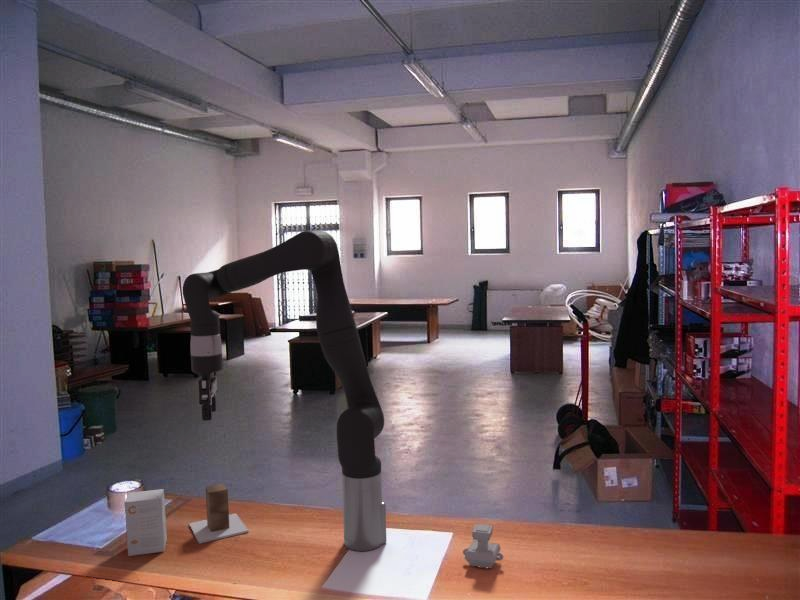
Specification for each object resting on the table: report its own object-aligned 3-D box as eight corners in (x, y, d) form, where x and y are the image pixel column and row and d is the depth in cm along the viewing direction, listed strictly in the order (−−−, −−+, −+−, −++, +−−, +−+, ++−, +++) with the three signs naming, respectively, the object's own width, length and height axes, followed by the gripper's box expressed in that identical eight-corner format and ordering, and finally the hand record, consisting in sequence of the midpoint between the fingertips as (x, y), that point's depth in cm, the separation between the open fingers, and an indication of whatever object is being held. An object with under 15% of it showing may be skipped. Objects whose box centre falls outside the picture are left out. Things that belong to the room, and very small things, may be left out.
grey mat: (235, 515, 173) (235, 513, 173) (248, 532, 163) (248, 530, 163) (189, 525, 167) (188, 523, 167) (199, 543, 157) (199, 541, 157)
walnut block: (225, 521, 168) (223, 483, 167) (229, 528, 164) (227, 489, 163) (207, 525, 166) (205, 486, 165) (211, 532, 162) (209, 492, 161)
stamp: (505, 560, 146) (505, 523, 145) (500, 574, 140) (500, 536, 139) (466, 554, 149) (465, 518, 148) (459, 568, 142) (458, 531, 142)
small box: (167, 540, 159) (164, 488, 158) (164, 552, 153) (161, 498, 152) (131, 544, 157) (128, 492, 156) (127, 557, 151) (124, 502, 150)
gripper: (218, 356, 158) (221, 422, 160) (225, 347, 172) (227, 407, 174) (186, 357, 157) (189, 424, 159) (195, 348, 171) (198, 409, 173)
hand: (209, 415), depth 166 cm, fingers open, 8 cm apart
